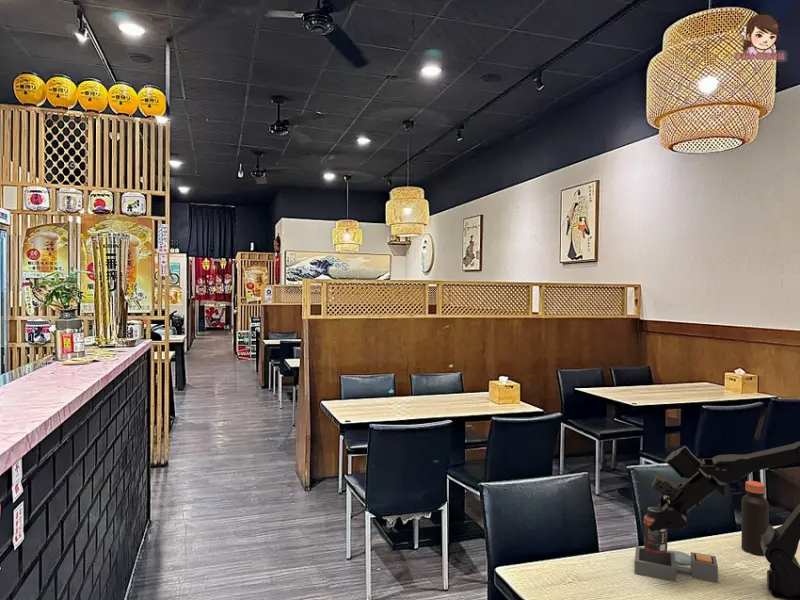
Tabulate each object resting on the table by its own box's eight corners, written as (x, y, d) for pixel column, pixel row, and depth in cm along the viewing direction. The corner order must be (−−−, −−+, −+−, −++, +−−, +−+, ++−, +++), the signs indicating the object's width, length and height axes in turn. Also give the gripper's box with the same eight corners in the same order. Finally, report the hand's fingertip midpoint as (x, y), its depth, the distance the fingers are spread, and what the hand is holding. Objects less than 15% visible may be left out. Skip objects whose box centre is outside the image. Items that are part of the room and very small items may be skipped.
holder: (715, 572, 151) (715, 556, 151) (719, 590, 142) (719, 572, 142) (635, 558, 159) (635, 542, 159) (634, 573, 150) (634, 557, 150)
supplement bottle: (670, 555, 149) (669, 514, 149) (646, 554, 150) (646, 512, 150) (664, 546, 155) (664, 505, 155) (641, 544, 156) (641, 504, 156)
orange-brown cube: (710, 570, 150) (710, 555, 150) (712, 576, 147) (712, 561, 147) (695, 567, 152) (695, 553, 152) (696, 573, 148) (696, 558, 148)
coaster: (692, 555, 161) (692, 553, 161) (694, 567, 154) (694, 565, 154) (662, 549, 164) (662, 548, 164) (662, 561, 157) (662, 560, 157)
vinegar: (763, 558, 159) (764, 489, 159) (737, 550, 164) (738, 483, 164) (772, 551, 163) (772, 484, 163) (746, 543, 169) (746, 478, 169)
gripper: (669, 458, 159) (628, 491, 164) (671, 477, 142) (626, 513, 147) (701, 489, 156) (658, 522, 161) (706, 512, 139) (658, 548, 144)
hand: (649, 525), depth 153 cm, fingers closed on supplement bottle, 6 cm apart
